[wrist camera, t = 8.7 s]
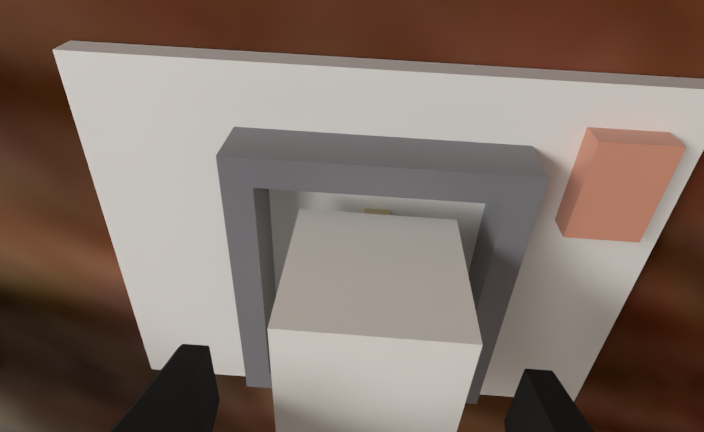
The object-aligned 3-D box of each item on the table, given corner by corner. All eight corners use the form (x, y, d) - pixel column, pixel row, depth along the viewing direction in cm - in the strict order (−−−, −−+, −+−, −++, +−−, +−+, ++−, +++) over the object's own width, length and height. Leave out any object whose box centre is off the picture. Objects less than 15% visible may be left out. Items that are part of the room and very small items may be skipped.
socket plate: (159, 352, 19) (133, 406, 17) (70, 40, 12) (9, 71, 10) (567, 383, 19) (588, 442, 17) (714, 79, 12) (780, 119, 10)
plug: (307, 312, 16) (278, 467, 12) (305, 183, 13) (267, 328, 9) (426, 321, 16) (441, 481, 12) (451, 194, 13) (482, 345, 9)
